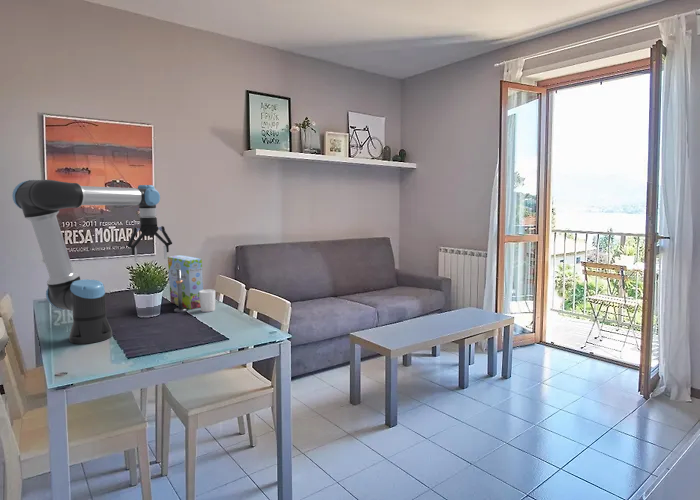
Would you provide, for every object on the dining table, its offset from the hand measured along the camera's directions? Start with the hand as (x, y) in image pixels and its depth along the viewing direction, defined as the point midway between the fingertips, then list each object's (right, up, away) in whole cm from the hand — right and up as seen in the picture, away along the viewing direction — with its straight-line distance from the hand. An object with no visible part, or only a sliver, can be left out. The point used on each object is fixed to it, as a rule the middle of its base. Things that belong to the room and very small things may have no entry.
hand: (151, 260), depth 222 cm
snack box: (+11, -25, +18) cm, 32 cm away
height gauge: (+13, -26, +5) cm, 29 cm away
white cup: (+26, -26, +6) cm, 37 cm away
